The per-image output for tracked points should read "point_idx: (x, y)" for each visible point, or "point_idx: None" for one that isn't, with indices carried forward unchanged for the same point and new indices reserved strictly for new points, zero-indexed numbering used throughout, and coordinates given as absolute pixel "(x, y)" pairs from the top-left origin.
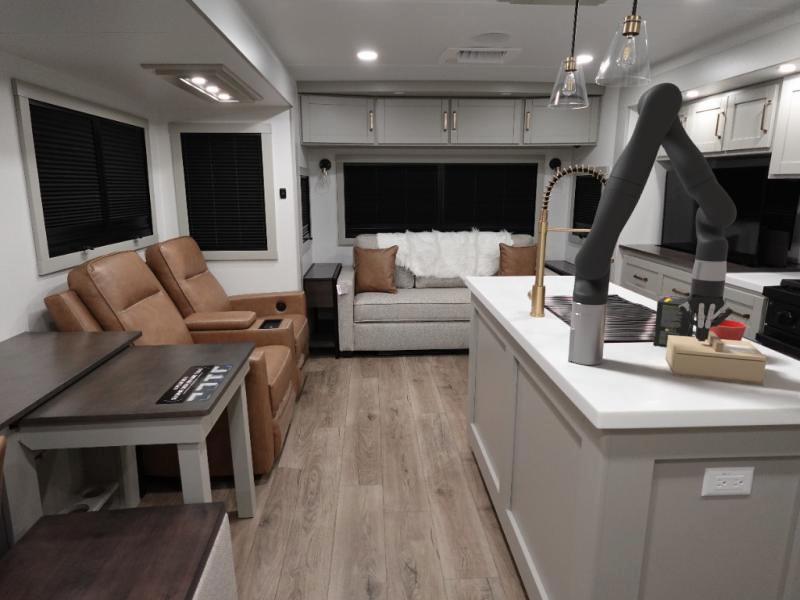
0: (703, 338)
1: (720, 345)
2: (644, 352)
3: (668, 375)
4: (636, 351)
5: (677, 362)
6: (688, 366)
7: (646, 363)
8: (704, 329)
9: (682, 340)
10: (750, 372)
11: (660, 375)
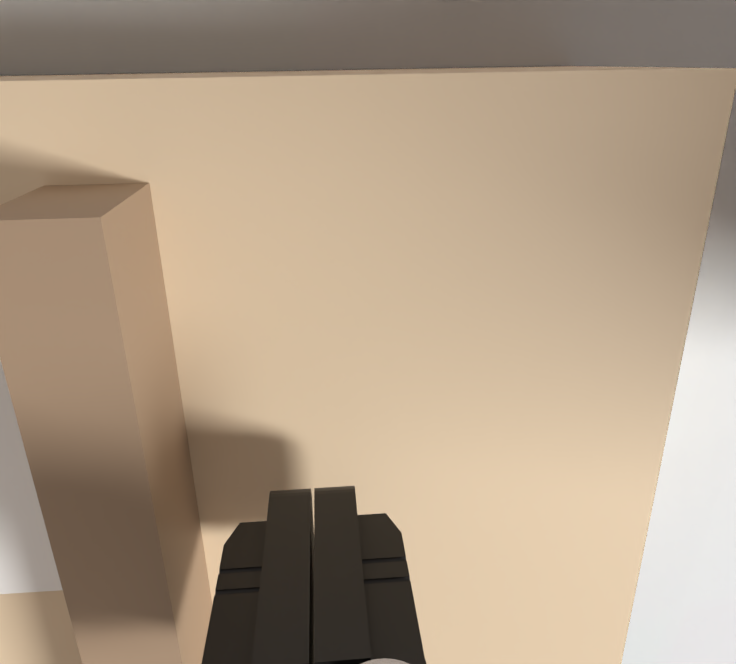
0: (295, 513)
1: (42, 212)
2: (646, 611)
3: (617, 57)
4: (700, 612)
5: (610, 67)
6: (473, 69)
7: (715, 353)
8: (290, 646)
9: (507, 579)
10: None
11: (696, 26)
